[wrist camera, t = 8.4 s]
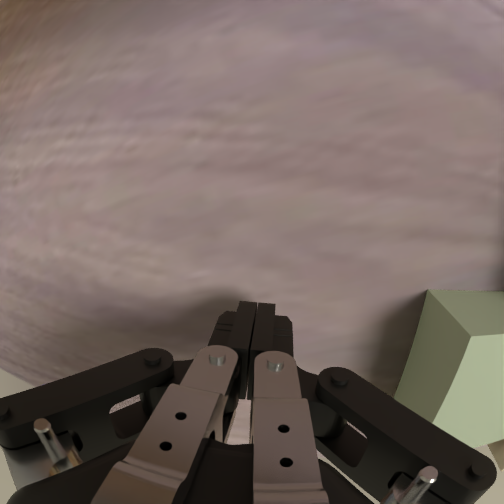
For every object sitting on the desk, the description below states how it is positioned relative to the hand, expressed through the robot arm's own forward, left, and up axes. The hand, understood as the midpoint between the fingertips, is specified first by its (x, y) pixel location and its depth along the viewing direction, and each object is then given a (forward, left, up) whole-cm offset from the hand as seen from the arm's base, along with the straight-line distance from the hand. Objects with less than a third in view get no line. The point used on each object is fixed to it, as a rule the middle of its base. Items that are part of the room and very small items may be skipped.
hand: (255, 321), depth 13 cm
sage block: (+3, +13, -2) cm, 13 cm away
